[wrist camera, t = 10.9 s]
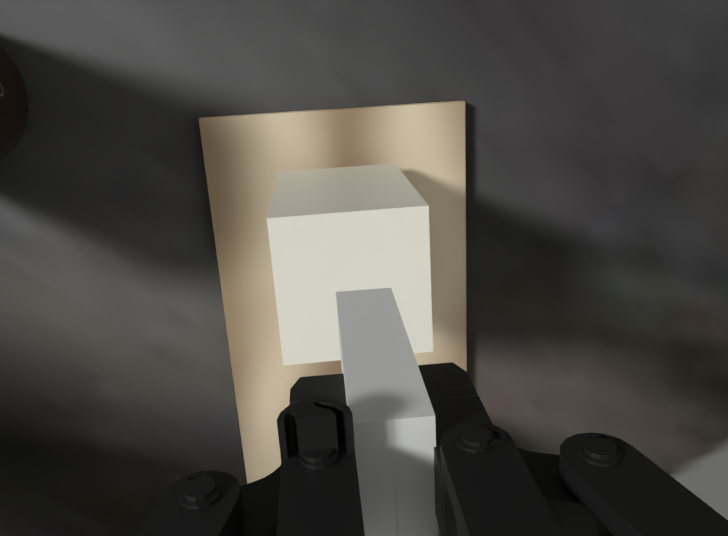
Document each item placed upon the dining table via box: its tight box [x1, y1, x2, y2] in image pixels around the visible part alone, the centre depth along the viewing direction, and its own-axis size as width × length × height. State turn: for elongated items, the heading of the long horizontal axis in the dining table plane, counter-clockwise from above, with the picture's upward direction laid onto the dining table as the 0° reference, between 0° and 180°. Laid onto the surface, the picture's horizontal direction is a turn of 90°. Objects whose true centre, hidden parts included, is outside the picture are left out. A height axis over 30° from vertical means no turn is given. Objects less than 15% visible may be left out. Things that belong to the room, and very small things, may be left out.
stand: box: [198, 101, 467, 484], centre depth 28 cm, size 12×20×10 cm, turn 3°
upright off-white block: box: [267, 163, 433, 365], centre depth 25 cm, size 5×5×9 cm
